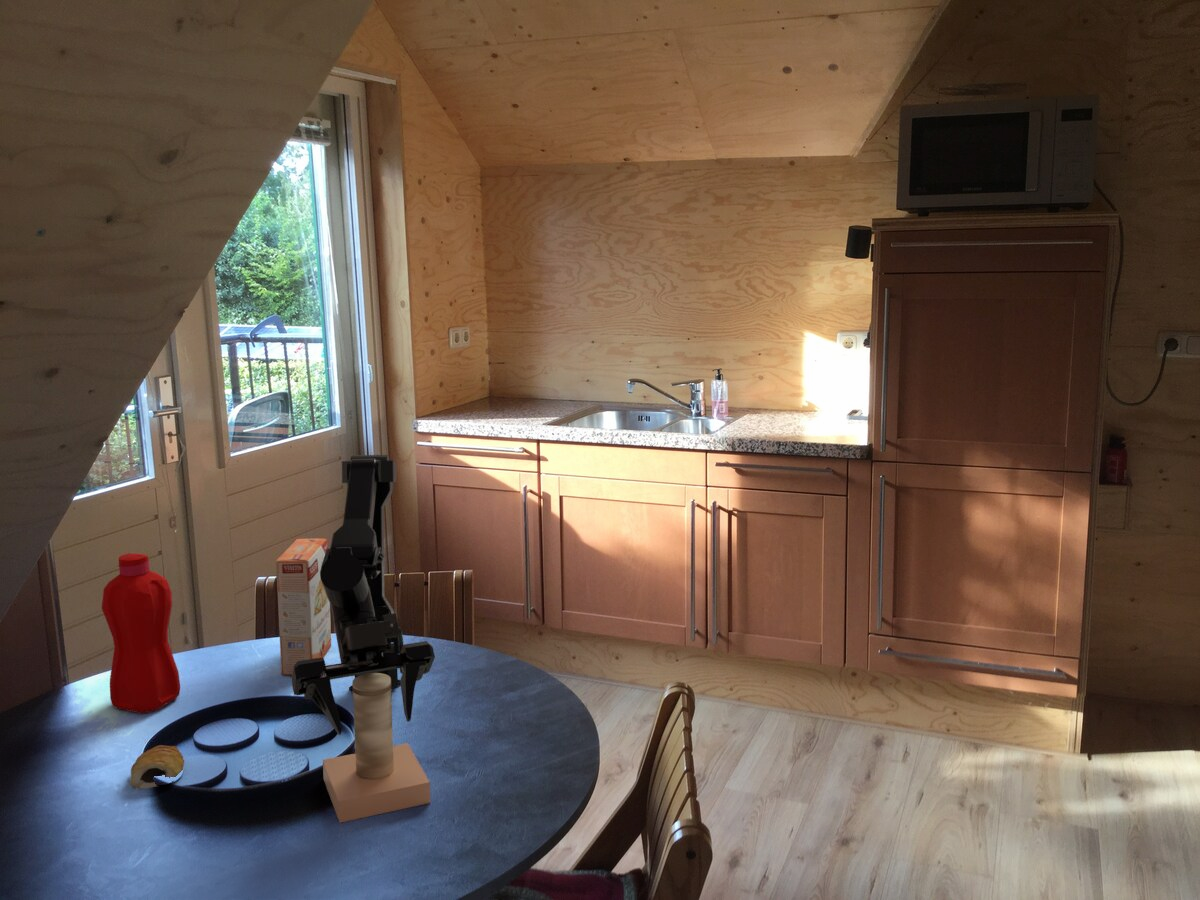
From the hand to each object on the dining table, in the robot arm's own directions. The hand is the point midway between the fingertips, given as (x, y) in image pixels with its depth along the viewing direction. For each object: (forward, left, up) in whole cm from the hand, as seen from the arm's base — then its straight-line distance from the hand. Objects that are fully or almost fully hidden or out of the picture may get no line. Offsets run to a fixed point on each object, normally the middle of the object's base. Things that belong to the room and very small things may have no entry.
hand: (375, 726), depth 139 cm
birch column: (-1, +1, -7) cm, 7 cm away
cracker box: (-40, +32, -10) cm, 52 cm away
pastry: (-31, -9, -10) cm, 34 cm away
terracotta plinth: (-1, +1, -10) cm, 10 cm away
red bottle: (-52, +8, -10) cm, 54 cm away
